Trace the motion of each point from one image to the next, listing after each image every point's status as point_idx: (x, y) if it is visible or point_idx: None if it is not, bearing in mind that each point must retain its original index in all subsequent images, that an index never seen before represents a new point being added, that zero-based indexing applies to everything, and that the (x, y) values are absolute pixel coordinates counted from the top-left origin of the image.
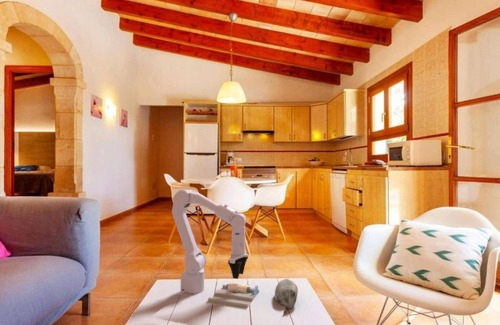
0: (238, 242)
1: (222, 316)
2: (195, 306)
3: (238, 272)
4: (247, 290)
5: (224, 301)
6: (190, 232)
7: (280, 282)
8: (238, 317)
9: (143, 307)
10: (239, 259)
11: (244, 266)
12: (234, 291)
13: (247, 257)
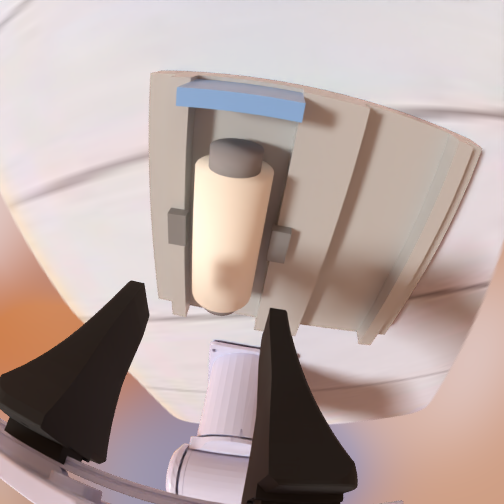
0: None
1: (475, 248)
2: (370, 348)
3: (298, 365)
4: (261, 164)
5: (410, 278)
6: None
7: None
8: (496, 177)
9: (362, 420)
10: (93, 431)
11: (89, 328)
12: (286, 253)
13: (16, 406)
